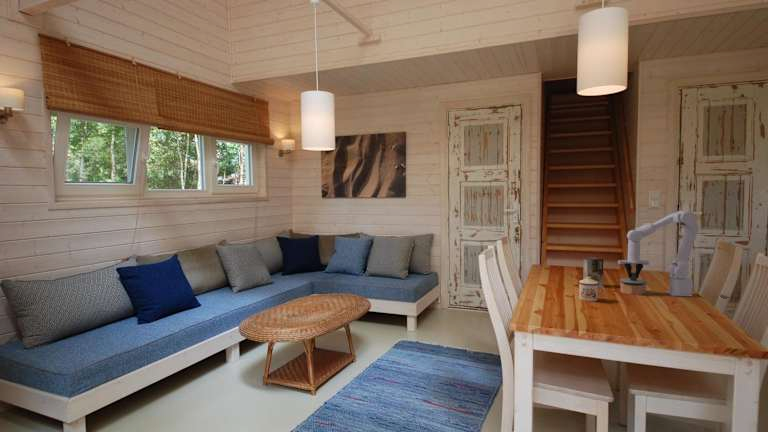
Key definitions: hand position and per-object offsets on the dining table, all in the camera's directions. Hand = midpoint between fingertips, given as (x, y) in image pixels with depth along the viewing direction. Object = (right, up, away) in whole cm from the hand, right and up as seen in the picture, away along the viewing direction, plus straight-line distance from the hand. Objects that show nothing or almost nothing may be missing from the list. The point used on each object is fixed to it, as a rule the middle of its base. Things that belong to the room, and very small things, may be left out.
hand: (633, 277), depth 234 cm
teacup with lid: (-29, -10, -13) cm, 33 cm away
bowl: (0, -8, 0) cm, 8 cm away
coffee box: (-14, -7, +17) cm, 23 cm away
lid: (0, -2, 0) cm, 2 cm away
